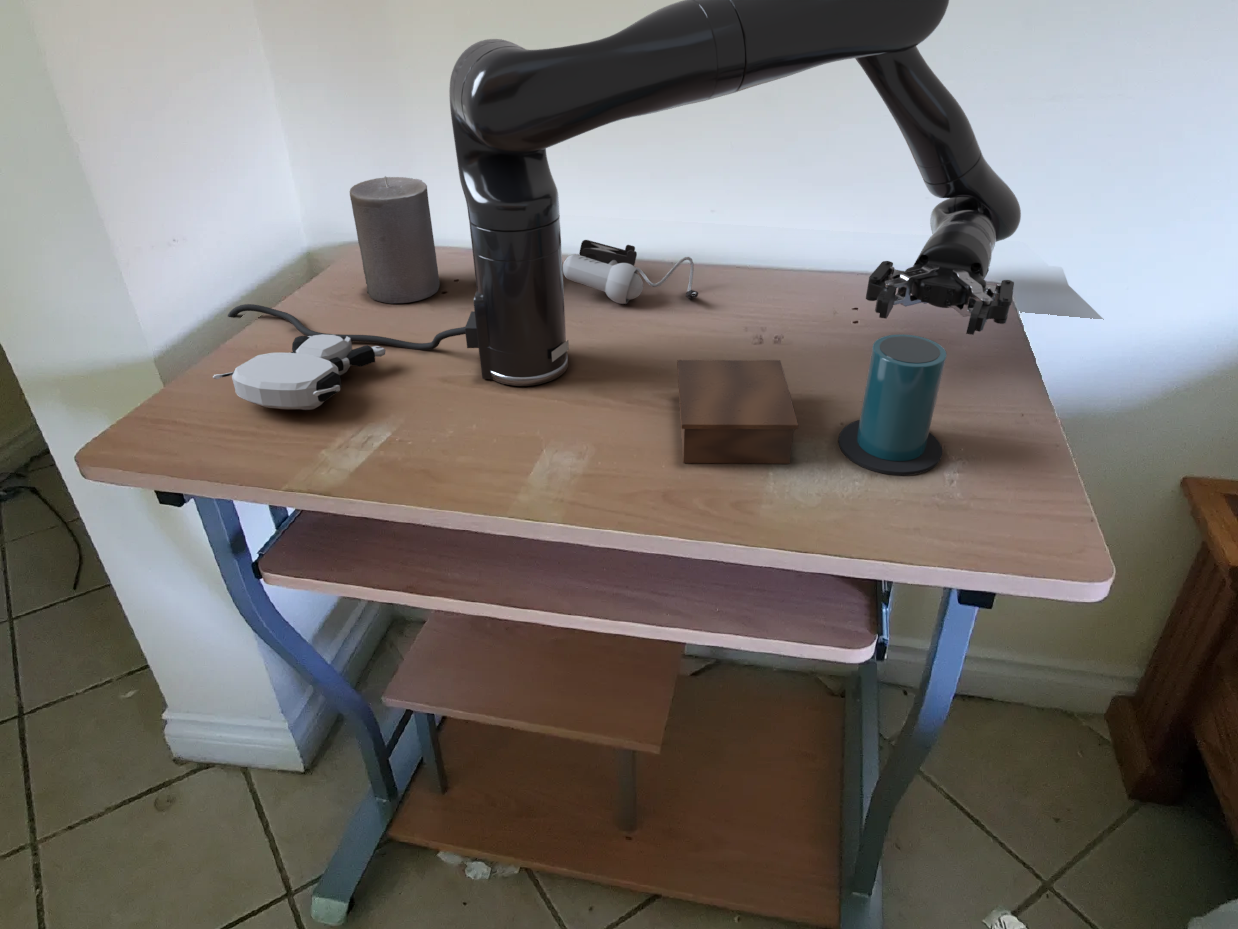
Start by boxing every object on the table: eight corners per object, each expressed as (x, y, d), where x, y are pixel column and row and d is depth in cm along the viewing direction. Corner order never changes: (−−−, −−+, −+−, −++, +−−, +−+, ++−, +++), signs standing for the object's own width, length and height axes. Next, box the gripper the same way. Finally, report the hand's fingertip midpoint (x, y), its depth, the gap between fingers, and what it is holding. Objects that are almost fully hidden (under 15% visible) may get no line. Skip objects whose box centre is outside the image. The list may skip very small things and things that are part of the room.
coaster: (849, 475, 79) (849, 471, 79) (830, 420, 87) (831, 417, 87) (954, 475, 79) (955, 472, 79) (926, 420, 87) (926, 417, 86)
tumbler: (864, 461, 80) (881, 365, 74) (850, 425, 85) (866, 333, 80) (933, 461, 80) (956, 366, 74) (915, 425, 85) (935, 333, 80)
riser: (680, 465, 81) (681, 424, 78) (676, 397, 91) (677, 359, 89) (793, 465, 80) (798, 424, 78) (776, 398, 91) (780, 360, 88)
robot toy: (304, 357, 101) (216, 412, 89) (297, 321, 99) (206, 372, 87) (396, 372, 98) (318, 430, 86) (391, 334, 96) (310, 389, 84)
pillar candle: (352, 293, 115) (329, 180, 106) (406, 270, 121) (388, 161, 113) (403, 310, 110) (383, 193, 102) (456, 285, 117) (442, 173, 108)
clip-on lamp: (701, 302, 118) (579, 263, 120) (714, 259, 115) (588, 218, 117) (684, 331, 108) (552, 287, 110) (698, 284, 105) (561, 240, 107)
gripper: (895, 221, 98) (861, 270, 86) (1029, 240, 93) (1012, 294, 81) (884, 283, 102) (850, 338, 90) (1011, 304, 97) (993, 365, 85)
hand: (927, 317), depth 86 cm, fingers open, 8 cm apart
